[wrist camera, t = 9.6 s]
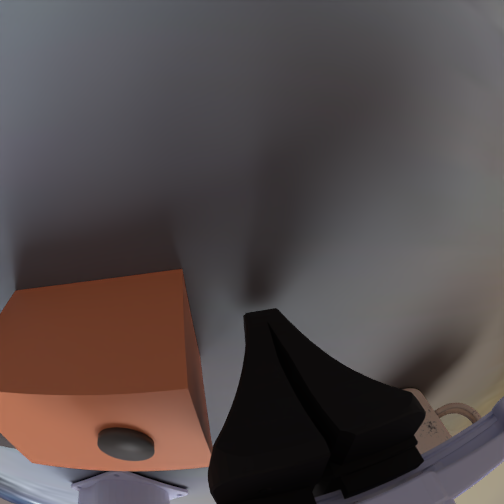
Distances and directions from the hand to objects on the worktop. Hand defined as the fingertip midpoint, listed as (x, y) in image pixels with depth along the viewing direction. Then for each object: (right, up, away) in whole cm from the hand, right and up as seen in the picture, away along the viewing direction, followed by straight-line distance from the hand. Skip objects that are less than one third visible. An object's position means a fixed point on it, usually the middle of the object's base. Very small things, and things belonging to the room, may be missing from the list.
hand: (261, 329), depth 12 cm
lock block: (-7, 0, 0) cm, 7 cm away
